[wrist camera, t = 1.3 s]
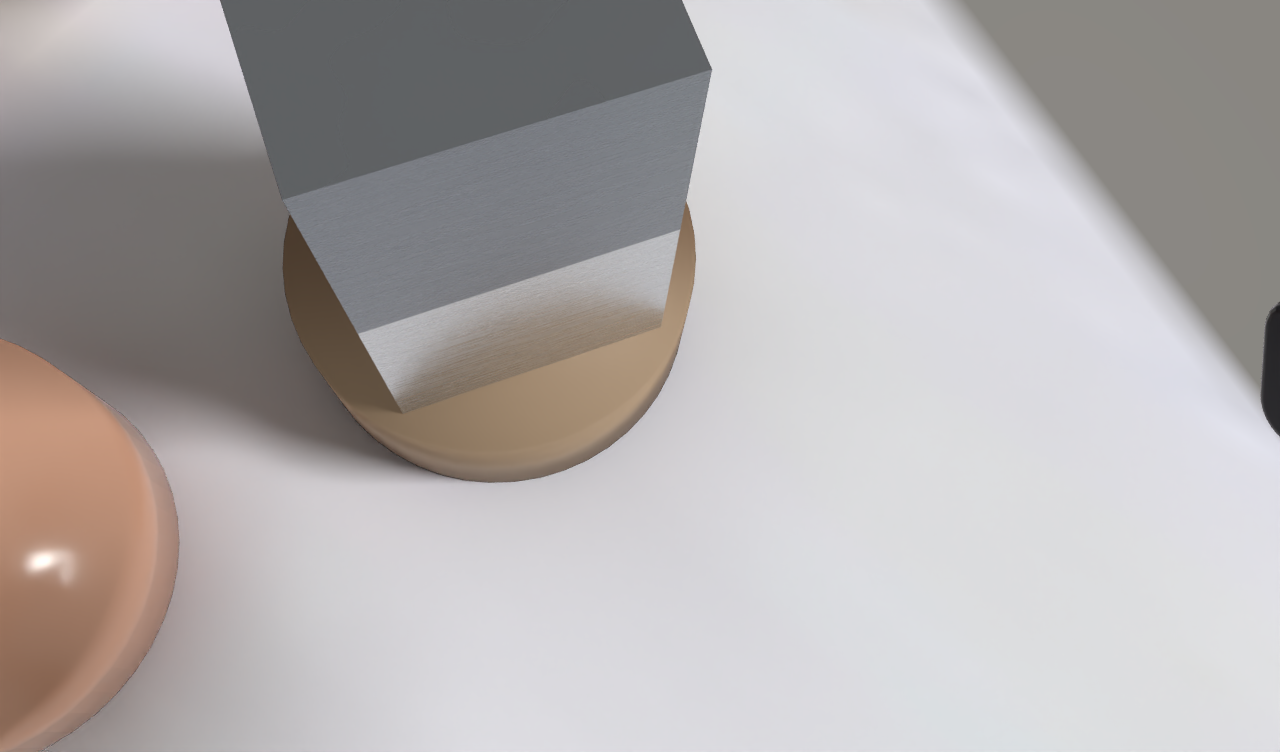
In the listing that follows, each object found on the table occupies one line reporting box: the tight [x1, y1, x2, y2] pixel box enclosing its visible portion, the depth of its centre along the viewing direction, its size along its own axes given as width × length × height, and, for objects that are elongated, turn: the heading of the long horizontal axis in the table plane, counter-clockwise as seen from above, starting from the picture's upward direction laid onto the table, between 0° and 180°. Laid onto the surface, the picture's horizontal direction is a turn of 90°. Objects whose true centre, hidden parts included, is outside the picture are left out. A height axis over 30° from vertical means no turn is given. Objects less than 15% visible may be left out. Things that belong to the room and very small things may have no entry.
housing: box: [220, 0, 712, 414], centre depth 16 cm, size 4×4×8 cm
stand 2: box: [283, 202, 696, 482], centre depth 21 cm, size 7×7×2 cm
